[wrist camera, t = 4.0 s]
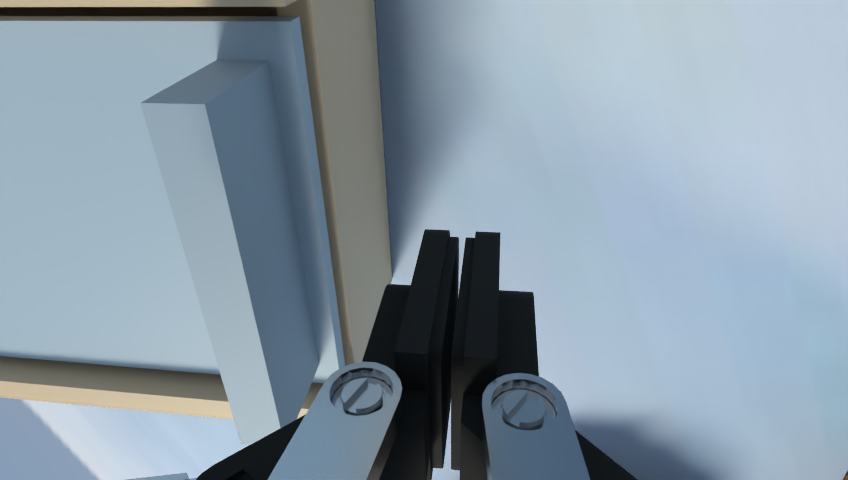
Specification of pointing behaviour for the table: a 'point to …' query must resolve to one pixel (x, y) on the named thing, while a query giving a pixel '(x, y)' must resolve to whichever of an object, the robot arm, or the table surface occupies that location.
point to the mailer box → (341, 185)
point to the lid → (167, 204)
